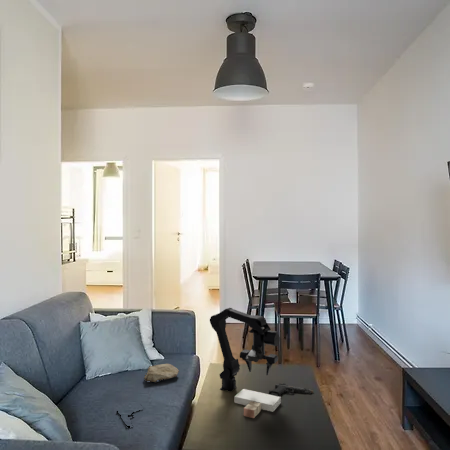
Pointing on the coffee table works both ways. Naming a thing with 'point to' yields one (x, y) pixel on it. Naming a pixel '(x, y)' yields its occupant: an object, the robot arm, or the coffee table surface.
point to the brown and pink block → (252, 409)
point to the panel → (258, 399)
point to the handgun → (287, 390)
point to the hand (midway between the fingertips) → (258, 373)
